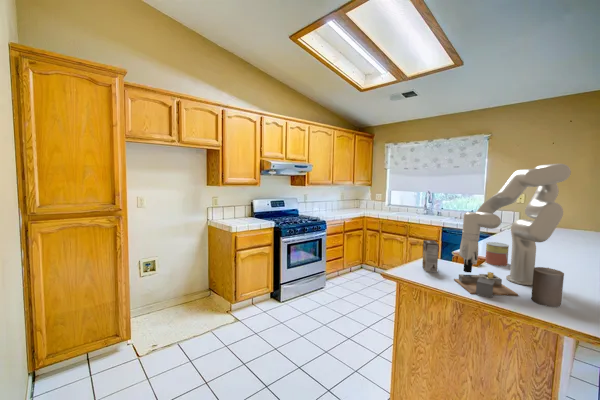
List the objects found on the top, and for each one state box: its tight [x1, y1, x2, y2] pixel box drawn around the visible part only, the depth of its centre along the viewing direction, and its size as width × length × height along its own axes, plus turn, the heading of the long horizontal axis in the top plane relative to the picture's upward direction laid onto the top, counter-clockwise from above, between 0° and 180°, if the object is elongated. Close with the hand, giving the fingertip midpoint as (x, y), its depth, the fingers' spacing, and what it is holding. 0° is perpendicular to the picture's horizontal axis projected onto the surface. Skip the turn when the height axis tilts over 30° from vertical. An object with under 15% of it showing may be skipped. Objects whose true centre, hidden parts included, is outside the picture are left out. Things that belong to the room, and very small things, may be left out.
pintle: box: [487, 271, 495, 278], centre depth 138 cm, size 2×2×5 cm
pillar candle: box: [530, 266, 565, 308], centre depth 119 cm, size 10×10×15 cm
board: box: [453, 278, 519, 297], centre depth 135 cm, size 20×17×1 cm
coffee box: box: [422, 239, 440, 273], centre depth 161 cm, size 9×6×16 cm
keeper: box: [475, 277, 495, 299], centre depth 127 cm, size 7×6×6 cm
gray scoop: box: [458, 273, 503, 286], centre depth 139 cm, size 17×7×3 cm, turn 84°
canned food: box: [484, 241, 510, 267], centre depth 173 cm, size 11×11×12 cm
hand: (467, 271), depth 145 cm, fingers closed
